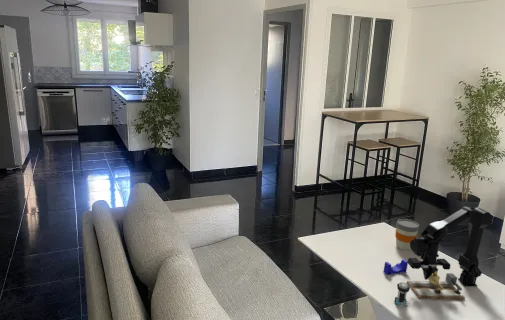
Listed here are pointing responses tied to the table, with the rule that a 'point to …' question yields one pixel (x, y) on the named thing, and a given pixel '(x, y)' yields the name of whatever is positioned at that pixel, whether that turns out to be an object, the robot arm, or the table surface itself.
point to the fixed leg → (452, 281)
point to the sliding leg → (435, 280)
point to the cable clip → (395, 268)
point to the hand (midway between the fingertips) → (425, 279)
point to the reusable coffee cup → (405, 233)
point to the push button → (402, 294)
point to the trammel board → (434, 290)
